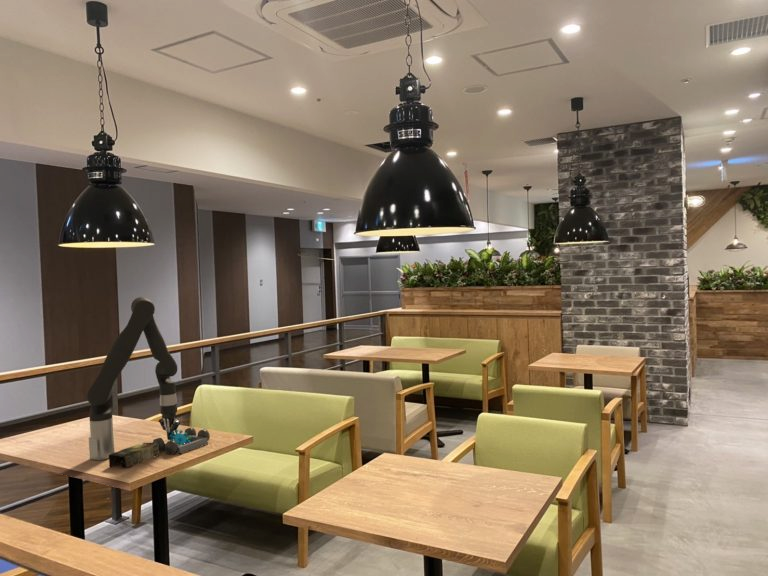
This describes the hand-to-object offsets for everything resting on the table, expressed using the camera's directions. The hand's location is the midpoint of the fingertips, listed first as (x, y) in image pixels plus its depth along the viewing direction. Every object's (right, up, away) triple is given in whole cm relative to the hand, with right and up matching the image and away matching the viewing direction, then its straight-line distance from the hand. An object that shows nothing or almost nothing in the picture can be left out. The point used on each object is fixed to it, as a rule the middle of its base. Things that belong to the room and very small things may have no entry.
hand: (170, 439), depth 274 cm
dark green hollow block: (-7, -4, -22) cm, 23 cm away
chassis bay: (+7, -2, -4) cm, 8 cm away
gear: (+6, -3, -3) cm, 8 cm away
